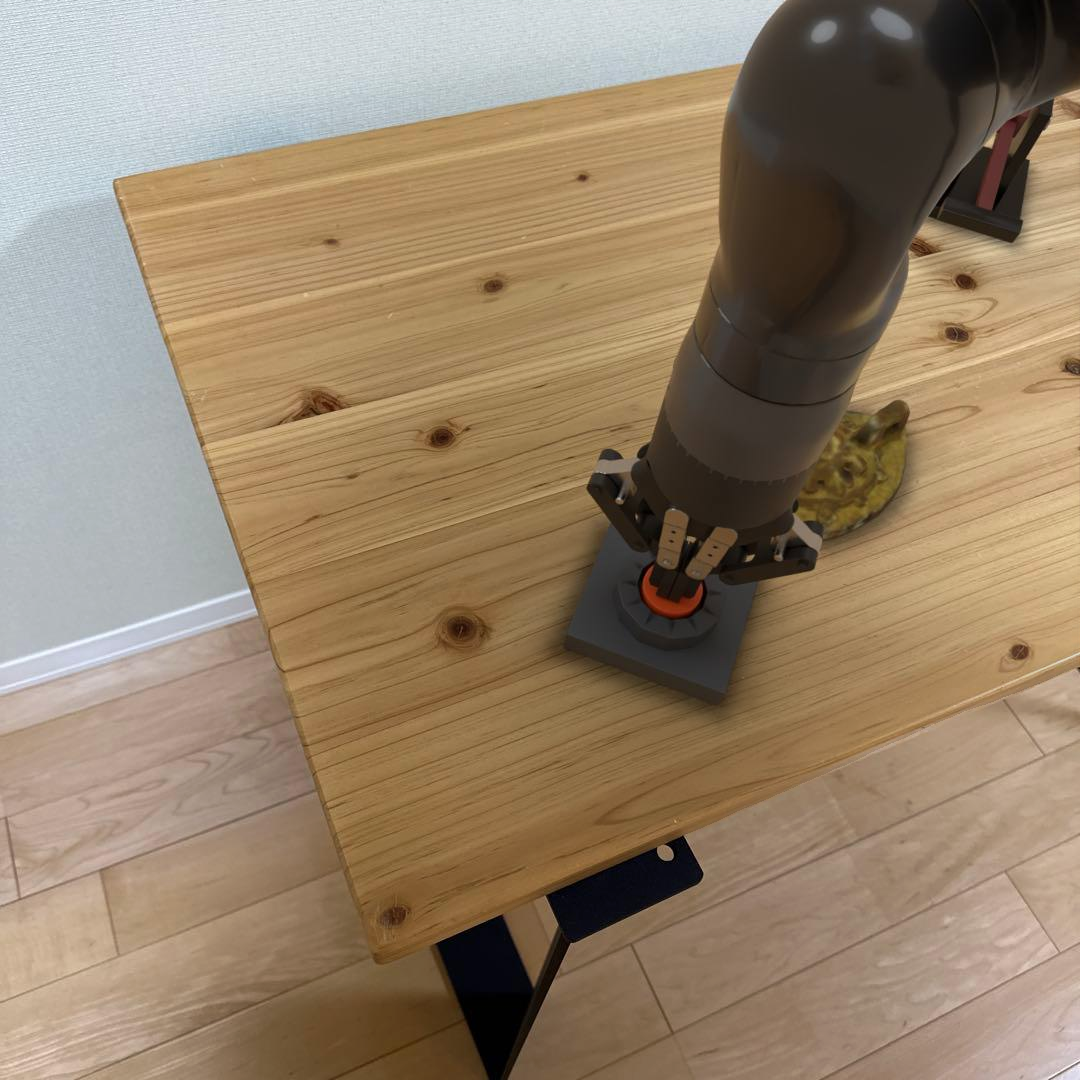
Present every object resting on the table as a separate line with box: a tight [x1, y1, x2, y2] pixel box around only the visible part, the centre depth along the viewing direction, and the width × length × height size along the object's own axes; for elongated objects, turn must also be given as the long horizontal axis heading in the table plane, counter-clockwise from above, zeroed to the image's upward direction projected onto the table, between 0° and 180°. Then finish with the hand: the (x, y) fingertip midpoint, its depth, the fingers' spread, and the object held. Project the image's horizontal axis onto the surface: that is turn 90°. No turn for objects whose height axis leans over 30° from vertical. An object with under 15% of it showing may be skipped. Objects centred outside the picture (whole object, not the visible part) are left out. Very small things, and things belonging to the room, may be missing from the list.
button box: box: [562, 522, 759, 707], centre depth 60 cm, size 10×9×4 cm
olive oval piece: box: [795, 398, 911, 541], centre depth 67 cm, size 9×5×15 cm
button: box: [639, 565, 703, 620], centre depth 59 cm, size 4×4×2 cm
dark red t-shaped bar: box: [936, 109, 1030, 244], centre depth 77 cm, size 13×6×2 cm, turn 160°
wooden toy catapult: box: [928, 98, 1055, 220], centre depth 81 cm, size 10×9×10 cm
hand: (671, 586), depth 58 cm, fingers closed
